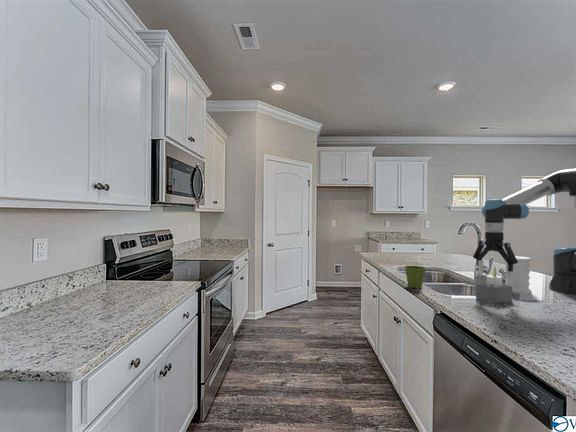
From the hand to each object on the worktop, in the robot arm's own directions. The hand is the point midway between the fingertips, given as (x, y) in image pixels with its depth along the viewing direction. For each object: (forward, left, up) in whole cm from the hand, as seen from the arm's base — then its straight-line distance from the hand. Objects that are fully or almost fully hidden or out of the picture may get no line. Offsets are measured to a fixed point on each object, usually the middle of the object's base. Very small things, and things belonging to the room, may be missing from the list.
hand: (494, 275), depth 154 cm
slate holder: (0, 0, -12) cm, 12 cm away
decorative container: (-29, -7, -12) cm, 32 cm away
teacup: (-15, -13, -12) cm, 23 cm away
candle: (0, 0, -11) cm, 11 cm away
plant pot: (+15, -35, -12) cm, 40 cm away
